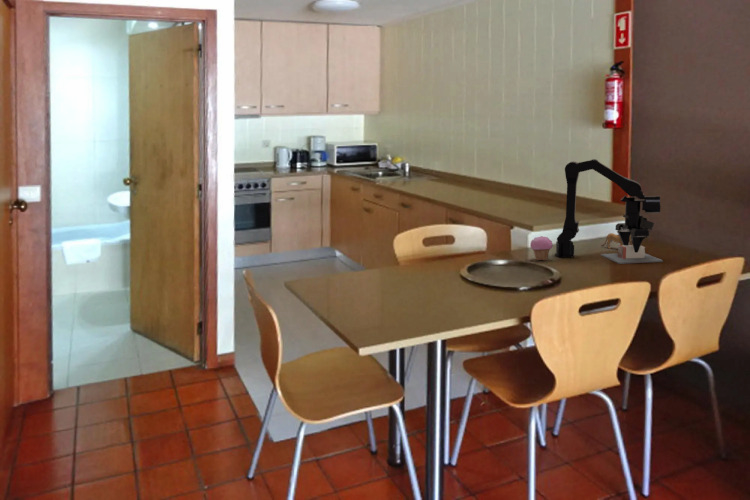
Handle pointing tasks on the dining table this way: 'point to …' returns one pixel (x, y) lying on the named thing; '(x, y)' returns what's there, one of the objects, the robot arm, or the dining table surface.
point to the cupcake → (541, 247)
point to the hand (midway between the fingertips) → (631, 250)
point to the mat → (631, 259)
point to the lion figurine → (614, 239)
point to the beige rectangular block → (630, 252)
